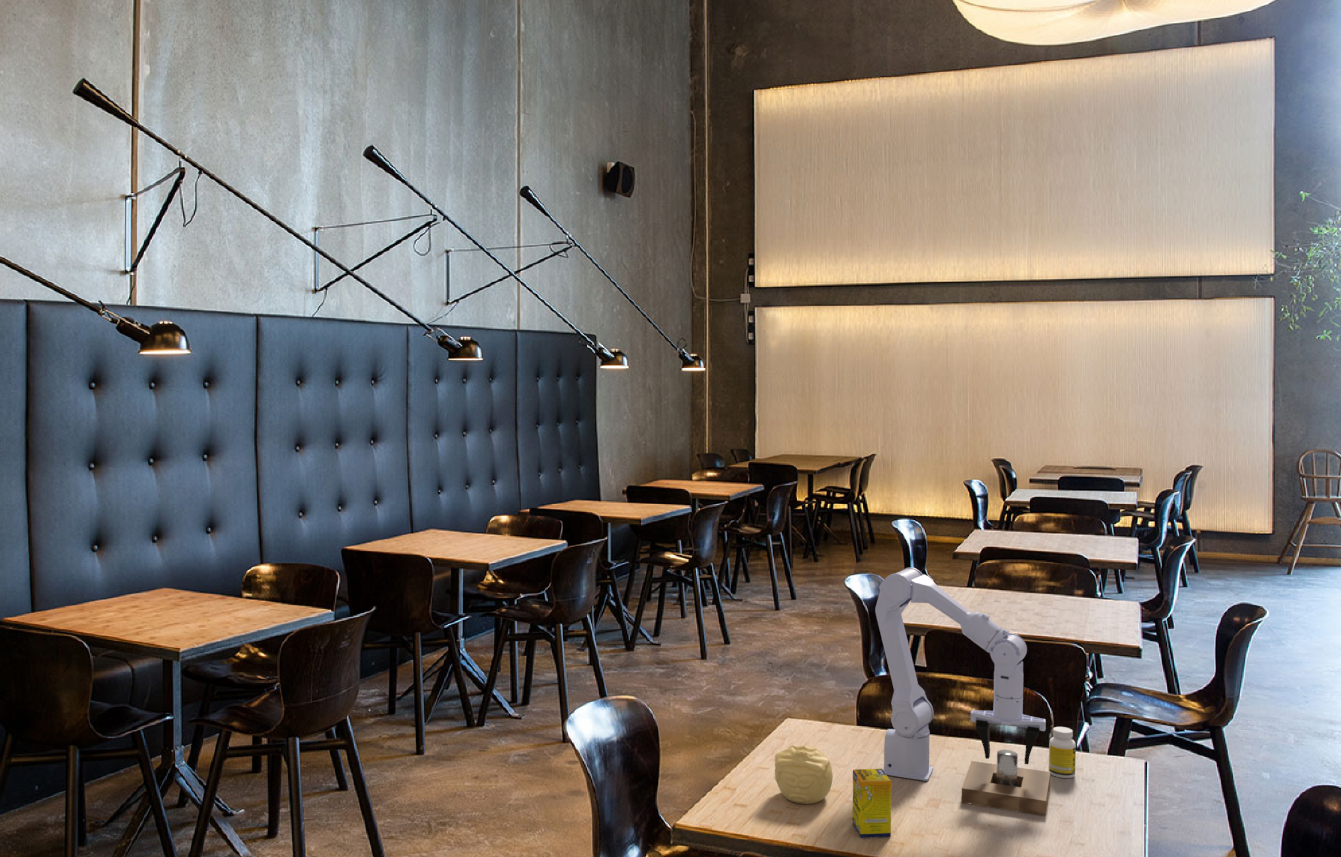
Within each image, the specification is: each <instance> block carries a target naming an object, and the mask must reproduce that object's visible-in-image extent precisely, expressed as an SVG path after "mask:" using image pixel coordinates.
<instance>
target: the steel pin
mask: <svg viewBox="0 0 1341 857" xmlns="http://www.w3.org/2000/svg"><path fill="white" fill-rule="evenodd" d="M996 752H997V753H996V764H997V784H1001V785H1007V786H1014V787H1017V767H1018V762H1019V761H1018V756H1019V754H1018V753H1017V752H1016V751H1014V750H1011V749H999V750H998V751H996Z"/></svg>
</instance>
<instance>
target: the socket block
mask: <svg viewBox="0 0 1341 857" xmlns="http://www.w3.org/2000/svg"><path fill="white" fill-rule="evenodd" d="M966 772H967V773H966V775H965V779H964V781H963V784H962V786H961V803H962V804H967V803H971V804H970V805H973V804H974V806H975V805H976V806H979V807H985V808H986V807H987V808H994V809H1000V810H1004V811H1005V810H1006V811H1013V812H1017V811H1018V813H1025V814H1030V815H1037V816H1044V817H1046V816H1047V810H1048V804H1049V797H1050V789H1051V774H1050V772H1049V771H1046V770H1038V769H1032V768H1031V769H1030V768H1024V767H1018V766H1017V787H1014V786H1007V785H1001V784H997V763H988V762H982V761H975V760H971V761H970V765H969V766H968V769H967V771H966Z"/></svg>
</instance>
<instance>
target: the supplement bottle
mask: <svg viewBox="0 0 1341 857" xmlns="http://www.w3.org/2000/svg"><path fill="white" fill-rule="evenodd" d="M1073 731H1074V730H1073V729H1071V728H1070V727H1065V726H1056V727H1055V726H1054V727H1053V728H1052V735H1053V736H1052V737H1051V738H1050V739H1049V741H1048V742H1049V744H1048V772H1050V776H1051V775H1052V777H1053V776H1054V777H1055V776H1056V778H1059V779H1071V778H1074V777H1075V775H1076V757H1077V756H1076V752H1077V750H1076V749H1077V745H1076V741H1075V740H1074V739H1073Z"/></svg>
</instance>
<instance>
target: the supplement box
mask: <svg viewBox="0 0 1341 857" xmlns="http://www.w3.org/2000/svg"><path fill="white" fill-rule="evenodd" d="M852 825H853V827H854V828H855V829H856V832H857V834H858V836H859V837H860V838H861V839H868V838H869V839H871V837H872V838H873V837H877V838H891V837H892V780H891V779H890V777H888V775H886V774H885V772H884V768H856V769H852ZM873 839H874V838H873Z"/></svg>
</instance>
